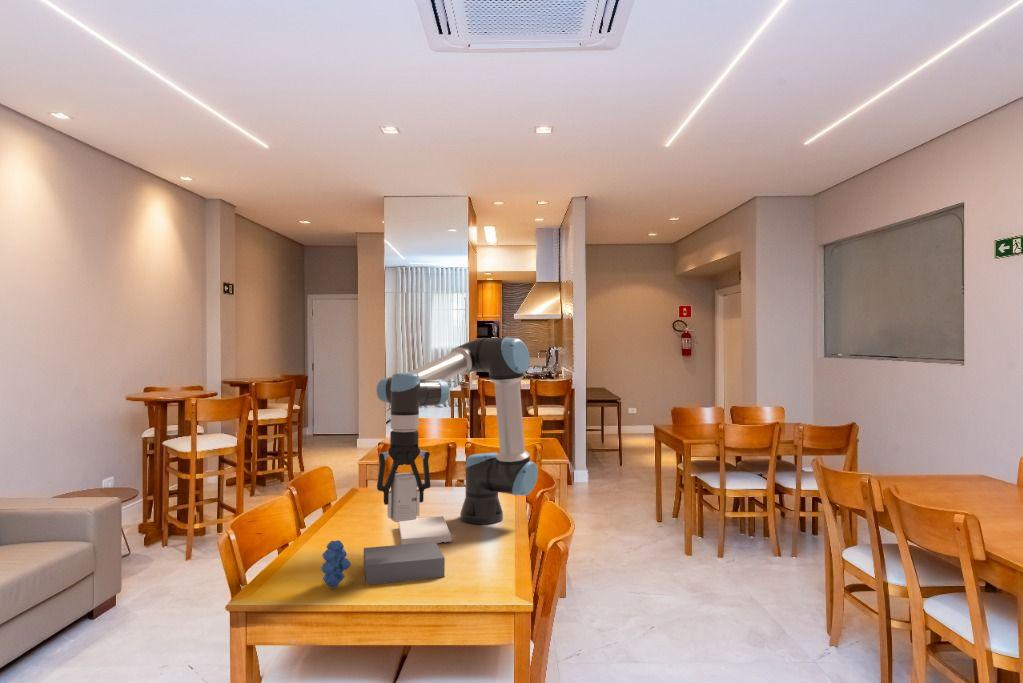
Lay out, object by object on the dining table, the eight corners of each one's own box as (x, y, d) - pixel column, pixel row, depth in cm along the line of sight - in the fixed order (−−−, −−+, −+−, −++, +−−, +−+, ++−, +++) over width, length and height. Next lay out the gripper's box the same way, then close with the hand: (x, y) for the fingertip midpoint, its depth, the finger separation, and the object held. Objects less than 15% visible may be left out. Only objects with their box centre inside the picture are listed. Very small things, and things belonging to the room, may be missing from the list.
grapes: (341, 597, 145) (342, 547, 145) (314, 596, 146) (315, 546, 146) (359, 579, 157) (359, 533, 157) (333, 578, 157) (334, 532, 158)
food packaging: (451, 546, 188) (443, 526, 207) (451, 535, 188) (443, 516, 207) (401, 550, 184) (398, 529, 204) (401, 539, 184) (398, 519, 203)
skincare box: (395, 522, 160) (396, 476, 160) (389, 519, 163) (390, 473, 164) (417, 519, 163) (418, 474, 163) (410, 515, 167) (411, 471, 167)
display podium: (435, 559, 172) (435, 541, 173) (444, 577, 159) (444, 557, 159) (363, 566, 167) (363, 547, 167) (366, 584, 153) (366, 564, 153)
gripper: (438, 427, 170) (437, 509, 170) (366, 429, 164) (365, 514, 164) (443, 430, 163) (442, 516, 162) (368, 432, 157) (366, 521, 157)
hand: (403, 515), depth 163 cm, fingers closed on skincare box, 7 cm apart
